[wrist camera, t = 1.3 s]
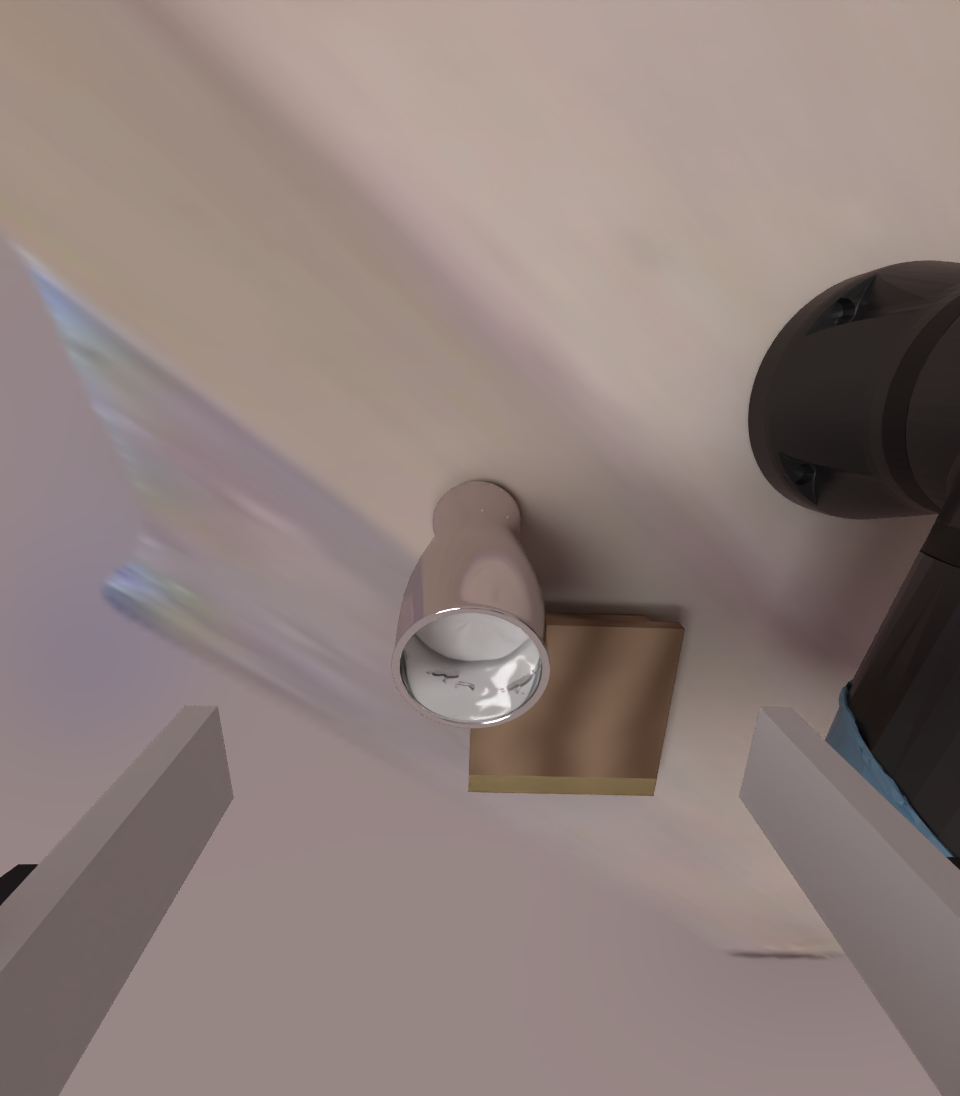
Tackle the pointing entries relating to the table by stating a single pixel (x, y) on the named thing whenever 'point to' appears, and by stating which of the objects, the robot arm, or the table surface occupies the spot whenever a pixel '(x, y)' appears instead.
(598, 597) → the table surface
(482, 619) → the beer glass
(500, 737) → the dock
